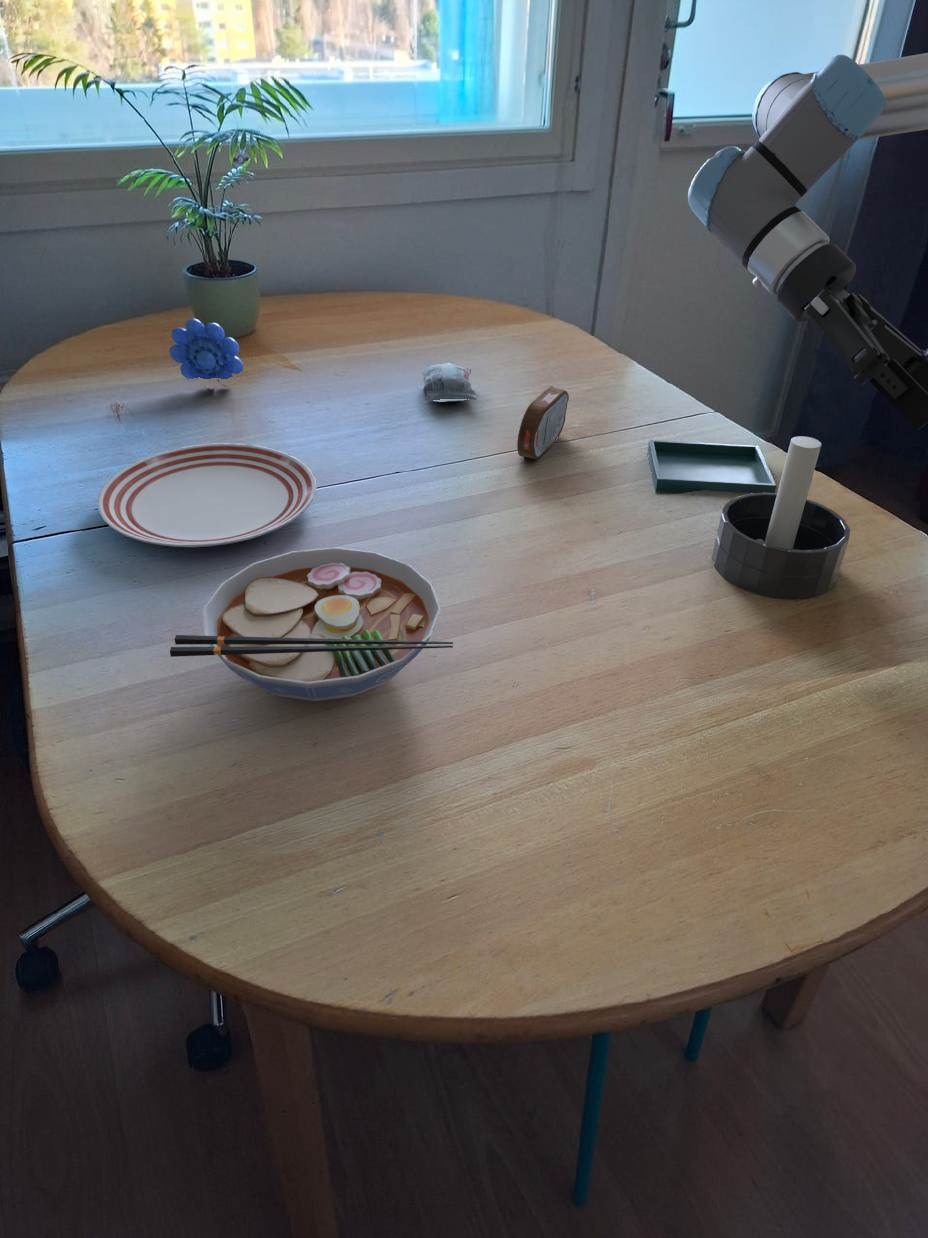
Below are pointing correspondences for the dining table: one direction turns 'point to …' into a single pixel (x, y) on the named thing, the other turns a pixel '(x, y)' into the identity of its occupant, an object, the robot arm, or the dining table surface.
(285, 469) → the dinner plate
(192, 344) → the blue flower rosette
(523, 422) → the tin
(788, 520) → the blade
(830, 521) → the bowl
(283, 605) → the ramen bowl
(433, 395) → the packaged food
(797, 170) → the robot arm
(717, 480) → the tray
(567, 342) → the dining table surface
